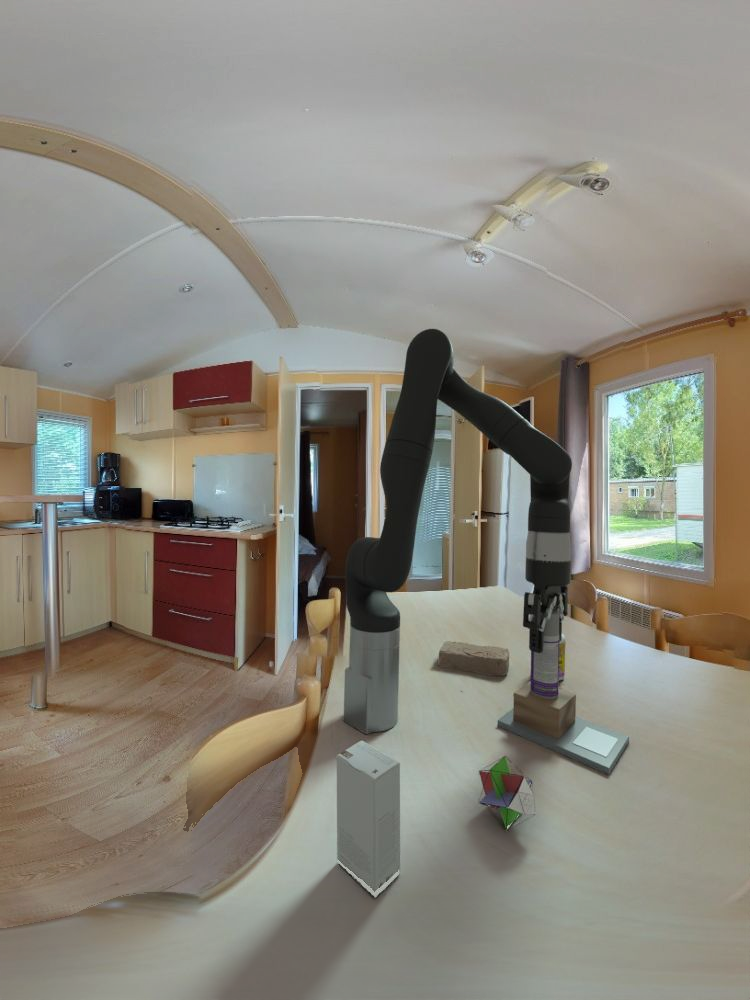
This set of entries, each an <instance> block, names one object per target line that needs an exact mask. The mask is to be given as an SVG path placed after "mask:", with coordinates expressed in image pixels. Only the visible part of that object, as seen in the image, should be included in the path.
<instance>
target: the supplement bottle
mask: <svg viewBox="0 0 750 1000" xmlns="http://www.w3.org/2000/svg"><path fill="white" fill-rule="evenodd" d="M566 640H567V639H566V636H565V635H564V633H562V640H561V641H560V642H559V681H563V680H564V678H565V670H566V669H565V668H566V667H565V666H566Z"/></svg>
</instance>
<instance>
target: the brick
mask: <svg viewBox="0 0 750 1000" xmlns="http://www.w3.org/2000/svg"><path fill="white" fill-rule="evenodd" d="M437 662H438V663H437V664H438V666H439V667H444V668H449V669H456V670H462V671H467V672H472V673H473V672H474V673H480V674H484V675H490V676H506V675H508V674H509V669H510V668H509V667H510V649H509V648H507V647H499V646H494V645H493V646H492V645H491V646H490V645H484V646H483V645H478V644H473V643H468V642H462V641H460V642H459V641H451V640H446V641H445V642H443V644H442V646H441V647H440V649H439V651H438V661H437Z"/></svg>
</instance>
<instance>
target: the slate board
mask: <svg viewBox="0 0 750 1000" xmlns="http://www.w3.org/2000/svg"><path fill="white" fill-rule="evenodd" d="M497 727H500V728H503V729H504V730H507V731H508V732H511V733H513V734H516V735H518V736H521V737H522V738H525V739H527V740H528V741H529V740H530V741H531V742H534V743H535V744H539V745H541V746H543V747H545V748H547V749H549V750H552V751H554V752H557V753H559V754H561V755H564V756H565V757H567V758H570V759H572V760H574V761H577V762H579V763H582V764H584V765H586V766H588V767H590V768H593V769H595V770H597V771H600V772H602V773H603V774H607V775H610V774H611V772H612V770H614V767H615V765H616V764H617V763H618V761H619V759H620V757H621V756H622V754H623V753H624V751H625V749H626V747H628V745H629V743H630V735H627V734H624V733H622V732H619V731H616V730H613V729H611V728H608V727H605V726H602V725H600V724H598V723H597V724H596V723H594V722H591V721H589V720H586V719H583V718H582V717H579V716H576V715H575V723H574V724H573V725H572V726H571V727H570V728H569V729H568V730H567V731H566V732H565V733H564V734H563V736H562V737H561V738H560V739H556V738H554V737H552V736H549V735H547V734H545V733H542V732H540V731H537V730H535V729H533V728H530V727H528V726H525V725H523V724H521V723H518V722H516V721H513V708H511V709H510V710H508V712H506V713H505V714H504V715H502V716H501V717H499V719H497Z"/></svg>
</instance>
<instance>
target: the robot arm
mask: <svg viewBox="0 0 750 1000" xmlns="http://www.w3.org/2000/svg"><path fill="white" fill-rule="evenodd" d="M438 401H440V402H442V403H443V404H444V405H446V406H447V407H448V408H451V409H452V410H453V411H455V412H456V413H458V414H459V415H460V416H462V417H463V418H464V419H465V420H466V421H468V423H470V424H472V425H473V426H474V427H475V428H476V429H477V430H478V431H479V432H480V433H481V434H483V435H484V436H485V437H486V438H487V439H488V440H489V441H490V442H492V443H493V445H495V446H496V447H497V448H498V449H500V450H501V451H502V452H503V453H505V454H506V455H509V456H510V457H511V458H512V459H513V460H514V461H515V462H516V463H517V464H518V465H520V467H521V468H522V469H523V470H524V471H525V472H527V473H528V474H529V480H530V484H529V485H530V486H529V487H530V488H529V489H530V503H529V507H528V513H527V536H526V541H525V580H526V582H528V583H531V584H532V585H533V590H532V592H527V591H526V592H524V594H523V596H524V597H523V614H522V616H523V617H522V626H523V627H524V628H526V629H529V634H528V635H529V638H528V648H529V650H530V652H531V651H533V652H537V653H541V652H543V641H544V631H543V630H544V627H545V623H546V621H548V620H550V617H551V613H552V612H553V611H555V610H557V611H558V612H559V642H560V641H561V640H562V634H563V632H562V631H563V622H564V620H565V617H567V616H568V613H569V612H568V605H569V604H568V595H569V594H568V589H569V588H568V586H569V585H570V584H571V570H572V569H571V566H572V565H571V562H572V560H571V559H572V544H571V536H570V535H571V533H570V530H571V510H570V508H571V507H570V503H569V495H570V494H569V493H570V491H569V490H570V475H571V472H572V467H573V466H572V465H573V462H572V458H571V456H570V454H569V453H568V451H567V450H566V449H564V448H563V447H562V446H561V445H560V444H558V443H557V442H556V441H554V440H553V439H552V438H551V437H549V436H548V435H546V434H545V433H543V432H542V431H540V430H538V429H537V428H536V427H534V426H533V425H532V424H531V423H530V421H528V420H527V419H526V418H525V417H524V416H522V415H521V413H519V412H518V411H516V410H515V409H514V408H513V407H512V406H511V405H509V404H508V403H506V402H505V401H503V400H501V399H500V398H498V397H496V396H494V395H491V394H488V393H486V392H483V391H482V390H479V389H477V388H475V387H474V386H472V385H471V384H469V383H468V382H467V381H466V380H465V379H464V378H463V377H462V375H460V373H459V372H458V371H457V370H456V369H455V367H454V349H453V345H452V342H451V340H450V339H449V337H448V336H447V334H446V333H445V332H443V331H442V330H439V329H437V328H427V329H423V330H422V331H419V332H418V333H417V334H416V335H415V336H414V337H413V338H412V340H411V341H410V343H409V345H408V346H407V350H406V354H405V364H404V371H403V377H402V385H401V390H400V395H399V397H398V401H397V403H396V406H395V409H394V413H393V416H392V420H391V423H390V427H389V430H388V433H387V437H386V441H385V444H384V447H383V453H382V455H381V456H382V457H381V460H380V466H379V475H380V480H381V486H382V490H383V495H384V498H385V516H384V517H385V518H384V521H383V525H382V530H381V534H380V537H370V536H366V537H365V536H364V537H360V538H358V539H356V540H355V541H354V542H353V544H352V545H351V546H350V548H349V551H348V553H347V554H346V555H347V557H346V561H345V597H346V598H345V601H346V602H345V603H346V609H347V612H348V614H349V620H350V621H349V651H348V652H349V655H348V656H349V658H348V659H349V661H348V664H349V665H348V667H346V668H345V669H344V683H343V686H344V687H343V689H344V690H343V691H344V692H343V696H344V697H343V721H344V722H346V723H347V724H349V725H350V726H352V727H354V728H355V729H357V730H359V731H360V732H362V733H363V734H365V735H369V734H370V733H374V732H377V733H379V732H383V731H387V730H390V729H391V728H394V726H395V725H396V724H397V723H398V720H399V719H398V717H399V681H400V680H399V679H400V677H399V675H400V641H401V638H400V636H401V633H400V632H401V613H400V610H399V608H398V607H397V606H396V605H394V603H393V602H392V600H390V597H388V594H387V593H395V592H396V591H398V590H400V589H401V588H402V587H403V586H404V584H405V583H406V582H407V580H408V577H409V575H410V571H411V569H412V568H411V567H412V564H413V562H412V561H413V556H414V550H415V541H416V533H417V526H418V525H417V524H418V519H419V513H420V510H421V509H420V508H421V504H422V498H423V495H424V494H423V493H424V489H425V488H424V487H425V483H426V479H427V476H428V472H429V468H430V465H431V460H432V457H433V451H434V450H433V449H434V444H435V436H436V425H437V424H436V423H437V412H438V411H437V409H438ZM540 612H541V613H540ZM540 619H541V621H540Z"/></svg>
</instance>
